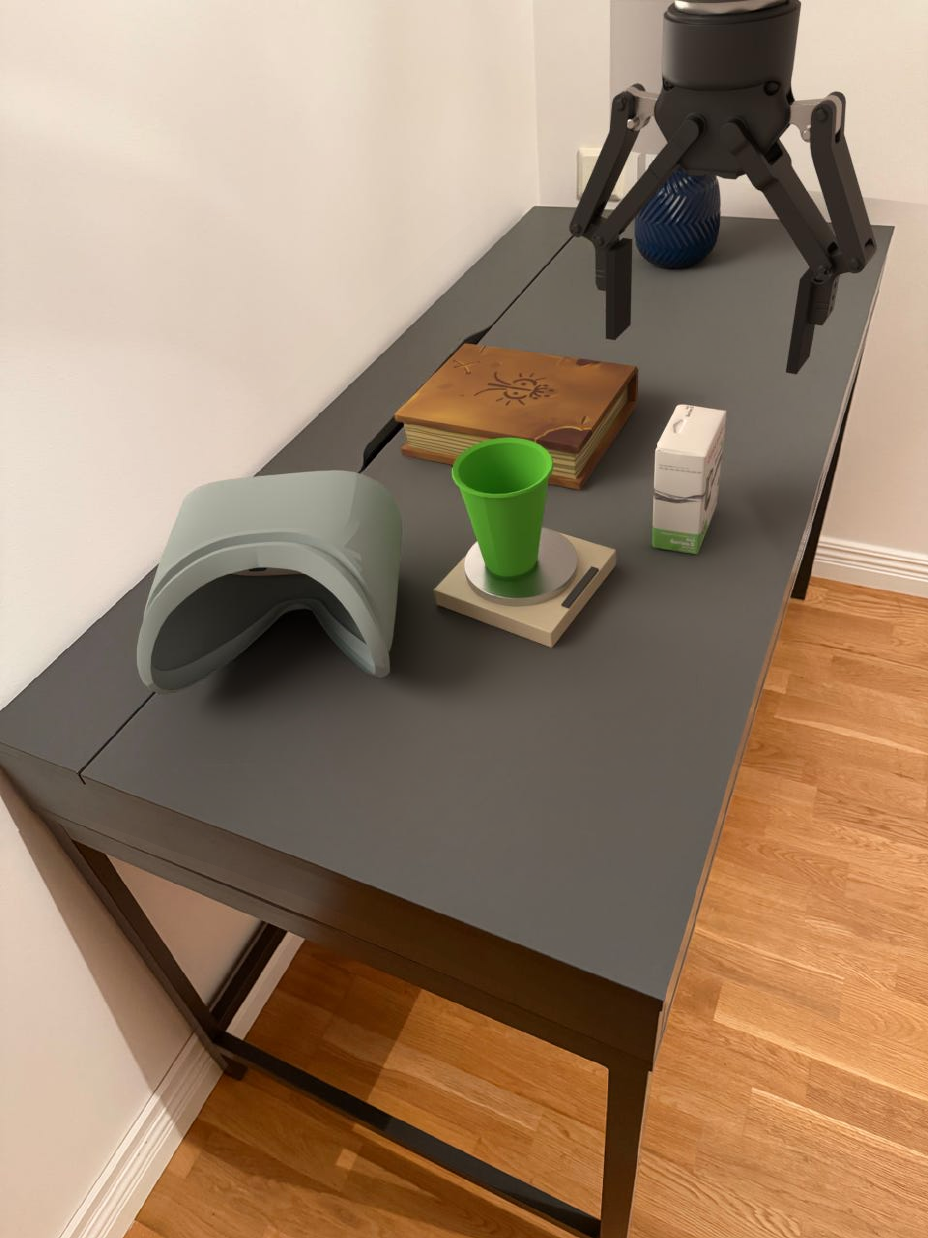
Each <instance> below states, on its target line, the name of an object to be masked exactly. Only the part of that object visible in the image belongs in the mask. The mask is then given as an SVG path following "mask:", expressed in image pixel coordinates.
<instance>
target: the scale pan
mask: <svg viewBox="0 0 928 1238" xmlns="http://www.w3.org/2000/svg"><path fill="white" fill-rule="evenodd" d="M558 532H559V531H556V530H553V529H550V528H547V527H544V526H542V529H541V537H540V545H539V552H538V558H537V561H536V562H535V564H534V566H533V567H532V568H531V569H530V570H529V571H527V572H526V573H524V574H521V575H518V576H509V577H507V576H500V575H497V574H495V573H493V572H492V571H491V570H490V569H489V568H488V567H487V566H486V564H485V562H484V560H483V557H482V554H481V551H480V548H479V545H478V542H477V541H475V542H474V543H473V544H472V546H471V547H470V548H469V550H468V551H467V553H466V555H465V556H466V558H465V562H464V569H465V576H466V580H467V582H468V584H469V586H470V587H471V589H472V590H473V591H474V592H475V593H476V594H478V595H479V596H481V597H482V598H484V599H486V600H488V601H490V602H493V603H497V604H501V605H507V606H528V605H534V604H538V603H542V602H545V601H547V600H550V599H552V598H554V597H556V596H558V595H559V594H561V593H562V592H563V591H565V590H566V589H567V588H568V587H569V586H570V585H571V583H572V582H573V580H574V579H575V577H576V574H577V570H578V557H577V552H576V549H575V548H574V546H573V544H572V543H571V542H570V541H569V540H568V539H567V538H566V537H565V536H563V535H562V534H563V533H562V534H560V533H561V532H559V533H558Z"/></svg>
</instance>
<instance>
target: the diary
mask: <svg viewBox="0 0 928 1238" xmlns="http://www.w3.org/2000/svg"><path fill="white" fill-rule="evenodd" d="M638 399H639V368H638V366H637V365H633V364H624V363H618V362H617V363H616V362H608V361H601V360H594V359H586V358H579V357H571V356H565V355H555V354H548V353H541V352H533V351H528V350H527V351H525V350H519V349H511V348H504V347H496V346H489V345H481V344H472V343H463V344H462V345H461V346H460V347H459V349H457V350H456V351H455V352H454V354H452V355H451V356H450V357H449V358H448V360H447V361H446V362H445V363H443V364H442V366H441V367H440V368H439V369H438V370H437V371H436V372H434V374H433V375H432V376H431V377H429V379H427V380H426V382H425V383H424V384H423V385H422V386H421V387H420V388H419V389H418V390H416V392H415V393H414V394H413V395H412V396H411V397H410V398H409V399H408V400H407V401H406V402H404V404H403V405H402V406H401V407H400V408H399V409H398V410H397V411H396V412H395V413H394V420H395V422H398V423H403V426H404V430H405V437H406V442H405V443H404V445H403V446H402V447H401V448H400V451H401V456H405V457H410V458H416V459H421V460H425V461H431V462H436V463H442V464H446V465H451V466H453V465H454V462H455V460H456V459H457V458H458V457H459V455H460V454H461V453H463V452H464V451H465V450H466V449H468V448H470V447H472V446H474V445H475V444H478V443H481V442H484V441H487V440H492V439H497V438H520V439H525V440H529V441H532V442H535V443H537V444H539V445H541V446H542V447H543V448H545V449H546V450H547V451H548V453H549V454H550V456H551V457H552V459H553V464H554V466H553V471H552V473H551V475H550V476H549V478H548V484H547V485H553V486H558V487H564V488H568V489H574V490H581V489H582V488H583V486H585V483H586V482H587V481H588V479H589V478H590V476H591V474H592V473H593V471H594V470H595V468H596V467H597V465H598V464H599V462H600V461H601V459H602V458H603V457H604V455H605V454H606V452H607V451H608V449H609V448H610V447H611V444H612V443H613V442H614V440H615V439H616V437H617V436H618V434H619V433H620V431H621V430H622V428H623V427H624V425H625V424H626V422H627V421H628V420H629V418H630V417H631V415H632V413H633V412H634V410H635V409H636V407H637V403H638Z"/></svg>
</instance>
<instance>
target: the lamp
mask: <svg viewBox="0 0 928 1238" xmlns="http://www.w3.org/2000/svg"><path fill="white" fill-rule="evenodd" d="M674 2H675V0H609V120H610V119H611V109H612V101H613V99H614V97H615V96H616V95H618V94H619V93H621V92H622V91H624V90H625V89H627V88H629V87H630V86H632V85H634V84H636V83H639V84H641V85H642V86H643V87H644V88H645V91H646V92H650V93H656V94H660V92H661V89H662V73H661V68H662V42H663V17H664V13H665V12H666V11H667V9H668V7H669V6H670V5H671V4H672V3H674ZM666 144H667V141H666V139H665V137H664V136H663V134H662V132H661V130H660V128H659V127H658V125H657V123H656V121H655V118H654V116H651V118H650V121H649V123H648V124H647V125H646V126H644V127H643V128H642V129H640V132H639V135H638V137H637V139H636V141H635V144H634V146H633V148H632V150H631V152H632V153H637V154H642V155H643V154H644V155H655V156H657V155H658V154H659V153H660V151H661V150H662V149H663V148H664V147H665V145H666ZM721 199H722V197H721V188H720V183H719V179H718V176H716V175H714V174H709V175H704V176H690V175H689V172H688V171H686V170H685V169H684V168H682V167H681V165H680V166H679V167H678V168H677V169H676V170H675V172H674V173H673V174H672V175H671V176H670V177H669V179H668V180H667V181H666V182H665V183H664V184H663V186H662V187H661V188H660V189H659V190H658V191H657V193H656V194H655V195H654V196H653V197H652V198H651V200H650V201H649V202H648V203H647V204H646V205H645V207H644V208H643V209H642V210H641V211H640V212H639V214H638V215H637V216H636V217H635V218H634V238H635V246H636V248H637V251H638V252H639V255H640V256H641V257H642V258H643V259H644V260H645V261H647V263H650V264H651V265H653V266H655V267H658V268H663V269H666V268H667V269H683V268H688V267H691V266H694V265H696V264H698V263H700V262H702V261H703V260H704V259H705V258H707V257H708V256H709V255H710V254H711V253H712V251H713V250H714V248H715V246H716V245H717V242H718V238H719V234H720V229H721V215H722V211H721V206H722V201H721Z"/></svg>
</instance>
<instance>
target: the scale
mask: <svg viewBox="0 0 928 1238" xmlns="http://www.w3.org/2000/svg"><path fill="white" fill-rule="evenodd" d="M557 532H558V533H560V534H562V535H563V536H565V537H566V538H567V539H568V540H569V541H570V542H571V543H572V544H573V546H574V548H575V549H576V552H577V557H578V570H577V574H576V577H575V579H574V580H573V582H572V583H571V585H570V586H569V587H568V588H567V589H566V590H565V591H563V592H562V593H561V594H559V595H558V596H556V597H554V598H552V599H550V600H547V601H545V602H542V603H538V604H534V605H528V606H507V605H501V604H497V603H493V602H490V601H488V600H486V599H484V598H482V597H481V596H479V595H478V594H476V593H475V592H474V591H473V590H472V589H471V587H470V586H469V584H468V582H467V580H466V576H465V569H464V562H465V558H466V555H465V556H464V557H463V558H462V559H461V560H460V561H459V562H458V563H457V565H455V567H453V568H452V570H451V571H450V572H449V573H448V574H447V575H446V576H444V578H443V579H442V580H441V581H440V582H439V583H438V584H437V585H436V587H435V588H434V589H433V593H434V599H435V605H437V606H440V607H441V608H442V607H443V608H445V609H447V610H449V611H453V612H455V613H458V614H461V615H463V616H466V617H469V618H472V619H474V620H477V621H480V622H483V623H485V624H488V625H490V626H491V627H495V628H497V629H500V630H503V631H506V632H509V633H511V634H514V635H516V636H519V637H521V638H523V639H524V638H525V639H527V640H529V641H532V642H535V643H538V644H541V645H543V646H546V647H548V648H551V649H553V648H554V646H555V644H557V642H558V641H559V640H560V638H561V637H562V636H563V634H564V633H565V632H566V631H567V629H568V628H569V627H570V626H571V624H572V622H573V621H574V620H575V619H576V617H577V616H578V615H579V613H581V611H582V610H583V608H585V606H586V604H587V603H588V602H589V600H590V599H591V598H592V597H593V596H594V594H595V593H596V592H597V590H598V589H599V588H600V587H601V586H602V584H603V582H604V581H605V580H606V578H608V576H609V575H610V573H611V572H612V571H613V569H614V568H615V567H616V566H617V550H616V549H615V548H611V547H607V546H604V545H602V544H598V543H595V542H591V541H588V540H585V539H581V538H579V537H575V536H572V535H569V534H566V533H562V532H560V531H557Z"/></svg>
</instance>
